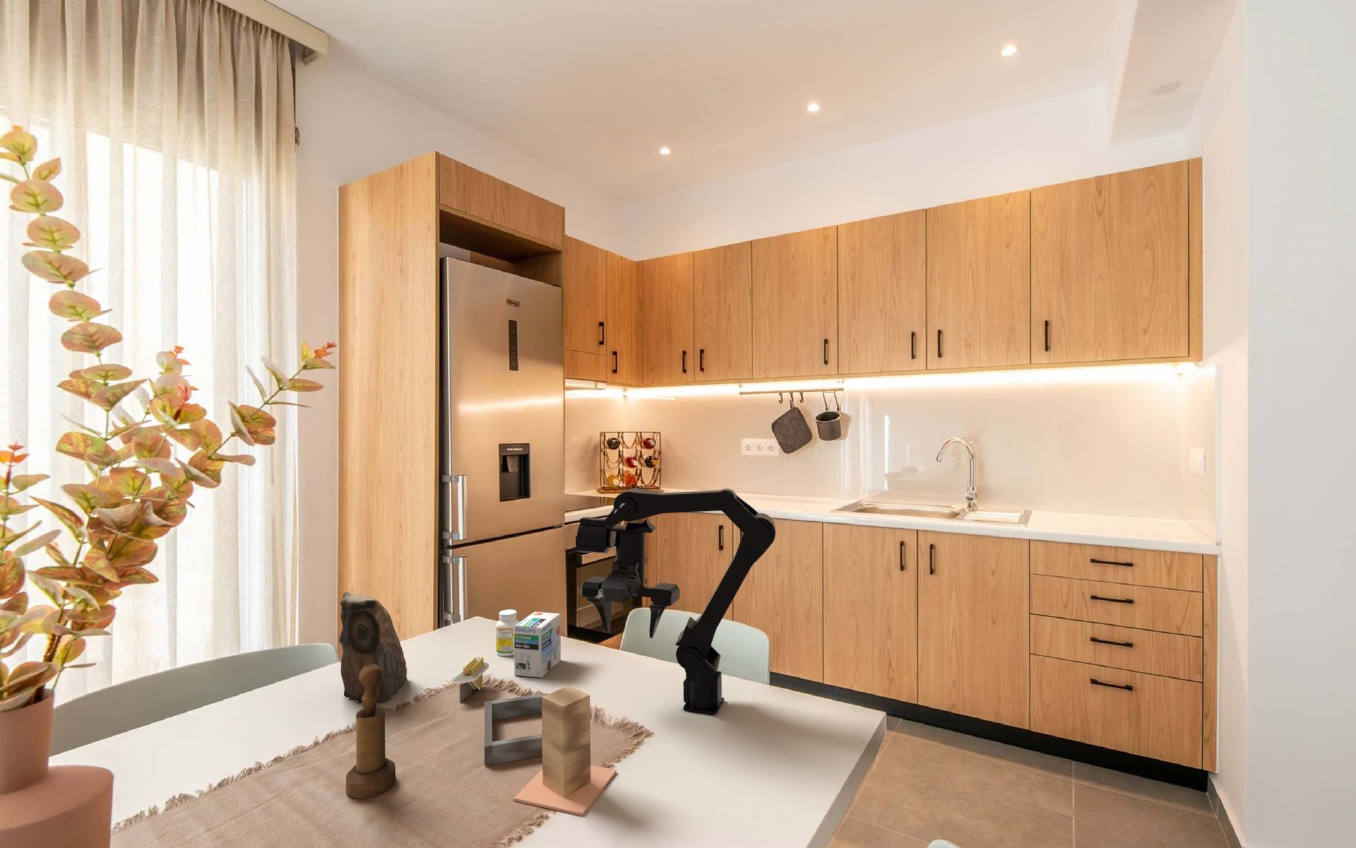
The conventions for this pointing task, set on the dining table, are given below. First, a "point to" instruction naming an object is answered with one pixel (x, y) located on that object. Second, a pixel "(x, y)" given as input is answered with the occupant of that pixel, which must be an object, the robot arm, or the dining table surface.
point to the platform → (471, 677)
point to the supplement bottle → (506, 632)
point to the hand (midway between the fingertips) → (629, 634)
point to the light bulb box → (537, 644)
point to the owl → (369, 647)
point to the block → (566, 740)
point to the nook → (516, 746)
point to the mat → (572, 803)
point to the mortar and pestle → (370, 743)
